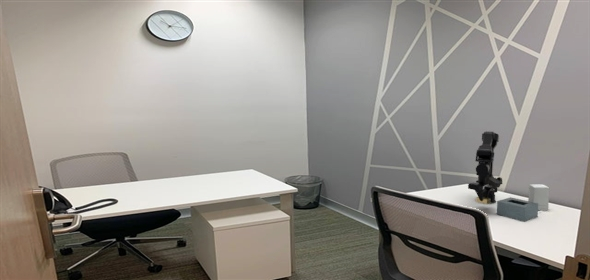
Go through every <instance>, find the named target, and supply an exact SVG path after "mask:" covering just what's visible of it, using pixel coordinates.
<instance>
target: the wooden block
mask: <svg viewBox="0 0 590 280" xmlns="http://www.w3.org/2000/svg"><path fill="white" fill-rule="evenodd" d="M475 199H476V201H475V202H477V203H480V204H484V205H488V204H491V203H490V202H491V199H490V198H486V197H483V201H480V199H479V197H478V196H476V197H475Z"/></svg>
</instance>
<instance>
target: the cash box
mask: <svg viewBox="0 0 590 280" xmlns="http://www.w3.org/2000/svg"><path fill="white" fill-rule="evenodd" d="M496 215H498V216H502V217H505V218H510V219H514V220H517V221H521V222H527V221H531V220H533V219H536V218H538V217H539V216H538V215H539V210H538V203H534V202H530V201H528V200H524V199H519V198H515V197H511V196H510V197H507V198H503V199H500V200H497V201H496Z"/></svg>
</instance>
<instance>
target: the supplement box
mask: <svg viewBox="0 0 590 280" xmlns="http://www.w3.org/2000/svg"><path fill="white" fill-rule="evenodd" d="M549 200H550V187H548V186H547V185H545V184H542V183H540V184H538V183H535V184H532V183H531V184H528V200H527V201H530V202H534V203H538V211H541V212H542V211H543V212H544V211H547V212H548V211H549V202H550V201H549Z"/></svg>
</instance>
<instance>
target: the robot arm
mask: <svg viewBox="0 0 590 280" xmlns="http://www.w3.org/2000/svg"><path fill="white" fill-rule="evenodd" d="M499 140H500V135H499V134H498V133H496V132H494V131H484V132H483V133H482V134H481V142H482V144H481V145H479V146H478V149H476V152H475V153H476V155H475V162H477V163H478V164H477V166H476V167H475V172H476V173H475V174H476V176H477V180H476V181H475V182H471V183H468V185H467V188H468V189H469V190H474V191H475V194H476V196H477V197H479V199H480V201H483V197H486V198H490V199H491V202H490V203H489V204H493V203H497V201H496V194H495V193H498V188H500V187H501V185H503V178H502V177H500V176H498V177H495V176H494V175H493V171H494V169H493V168H494V159H495V148H496V147H497V145H498V143H499Z"/></svg>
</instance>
